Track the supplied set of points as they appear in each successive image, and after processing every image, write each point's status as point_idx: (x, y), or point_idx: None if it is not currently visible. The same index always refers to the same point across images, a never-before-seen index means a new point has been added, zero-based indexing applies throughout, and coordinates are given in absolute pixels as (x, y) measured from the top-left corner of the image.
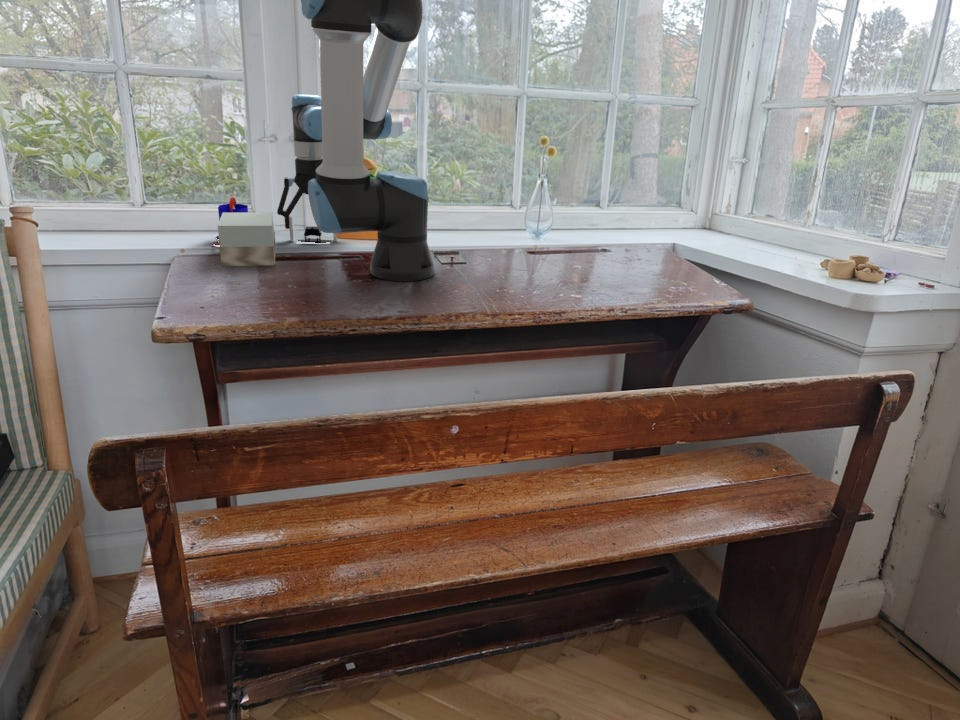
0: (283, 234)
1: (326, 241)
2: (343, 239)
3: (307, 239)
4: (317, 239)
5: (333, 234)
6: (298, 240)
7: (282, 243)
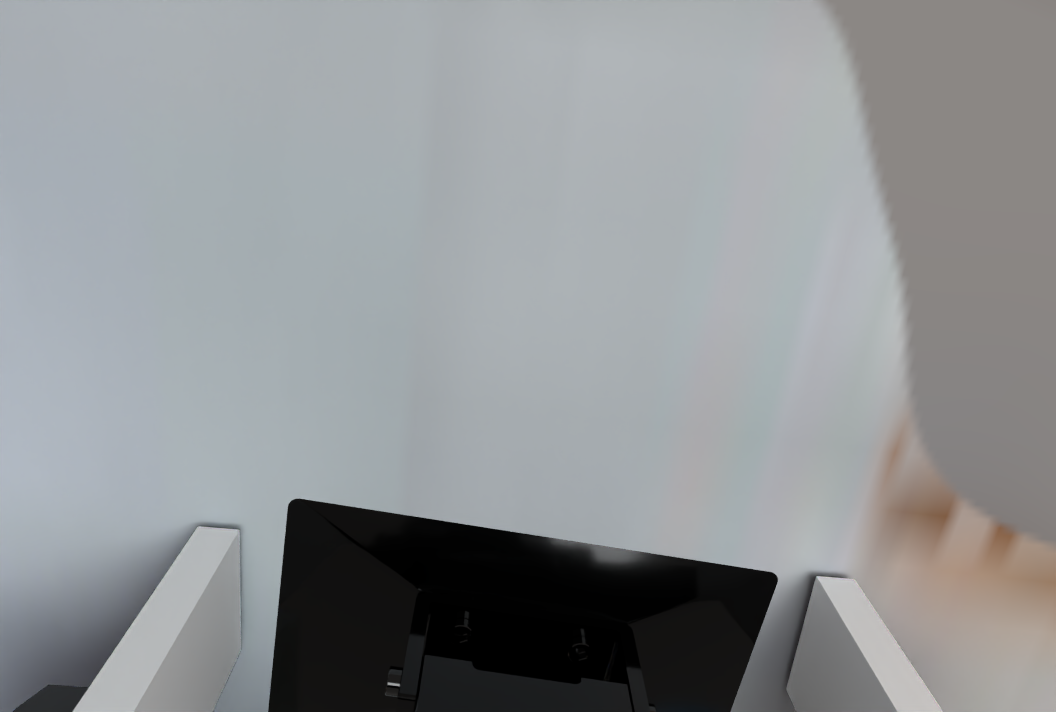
0: (60, 133)
1: (688, 671)
2: (954, 563)
3: (435, 649)
4: (574, 667)
5: (834, 673)
6: (314, 567)
7: None
